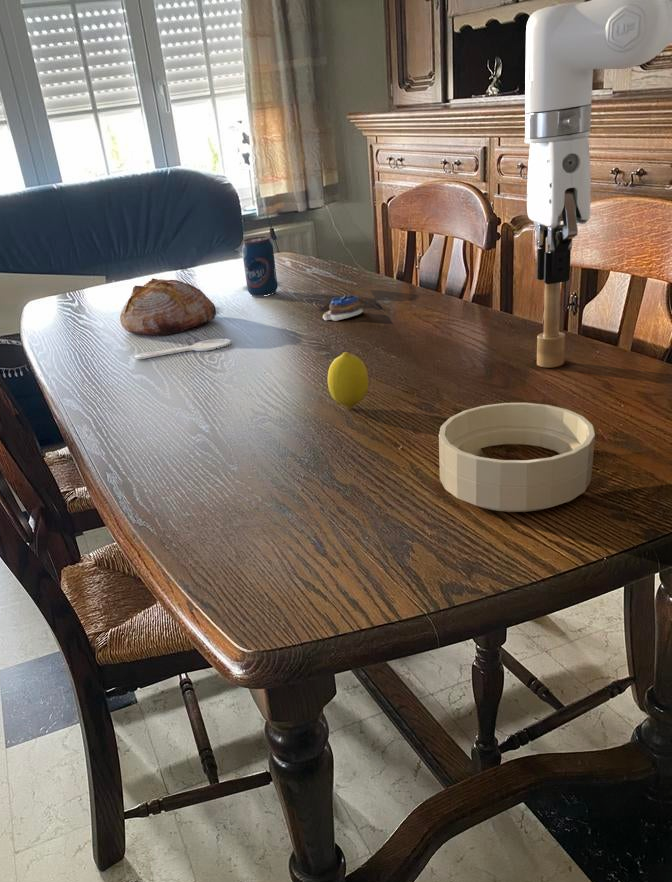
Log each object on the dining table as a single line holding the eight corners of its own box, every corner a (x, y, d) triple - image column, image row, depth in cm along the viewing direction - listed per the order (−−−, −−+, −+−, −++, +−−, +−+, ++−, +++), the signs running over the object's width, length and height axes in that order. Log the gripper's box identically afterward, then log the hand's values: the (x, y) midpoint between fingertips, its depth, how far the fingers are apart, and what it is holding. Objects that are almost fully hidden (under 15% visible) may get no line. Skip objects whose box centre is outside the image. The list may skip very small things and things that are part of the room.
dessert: (364, 304, 149) (359, 284, 144) (365, 331, 146) (360, 311, 141) (325, 310, 151) (319, 290, 145) (325, 337, 148) (319, 317, 143)
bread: (123, 329, 161) (112, 281, 157) (213, 313, 164) (204, 266, 160) (123, 344, 147) (111, 292, 142) (222, 326, 149) (213, 275, 145)
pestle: (558, 357, 106) (562, 232, 98) (567, 365, 103) (573, 236, 95) (533, 361, 106) (535, 236, 98) (542, 369, 103) (545, 240, 95)
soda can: (245, 298, 169) (238, 243, 163) (251, 291, 174) (243, 237, 169) (276, 296, 167) (269, 240, 162) (280, 288, 173) (273, 234, 168)
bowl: (557, 444, 86) (560, 395, 83) (615, 506, 73) (621, 450, 70) (426, 461, 86) (425, 413, 84) (460, 526, 73) (460, 471, 70)
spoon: (134, 354, 139) (133, 351, 139) (229, 338, 141) (229, 335, 141) (134, 362, 134) (133, 359, 134) (232, 346, 136) (232, 343, 136)
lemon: (343, 399, 107) (338, 344, 103) (377, 403, 104) (374, 347, 100) (322, 413, 103) (317, 357, 99) (357, 418, 100) (352, 360, 96)
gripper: (617, 121, 83) (606, 288, 92) (563, 120, 98) (558, 265, 106) (550, 132, 84) (546, 297, 92) (506, 129, 98) (505, 273, 106)
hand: (552, 279), depth 99 cm, fingers closed on pestle, 2 cm apart
